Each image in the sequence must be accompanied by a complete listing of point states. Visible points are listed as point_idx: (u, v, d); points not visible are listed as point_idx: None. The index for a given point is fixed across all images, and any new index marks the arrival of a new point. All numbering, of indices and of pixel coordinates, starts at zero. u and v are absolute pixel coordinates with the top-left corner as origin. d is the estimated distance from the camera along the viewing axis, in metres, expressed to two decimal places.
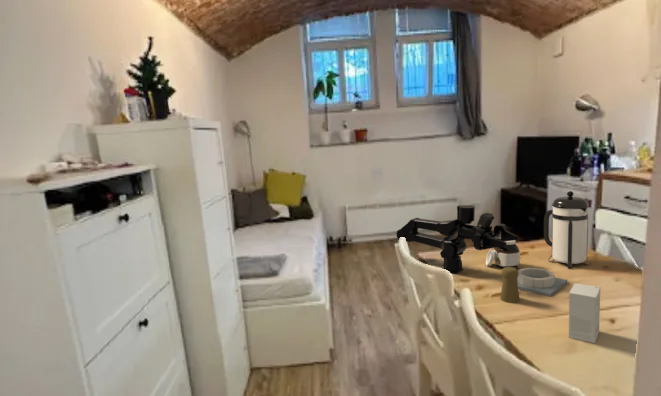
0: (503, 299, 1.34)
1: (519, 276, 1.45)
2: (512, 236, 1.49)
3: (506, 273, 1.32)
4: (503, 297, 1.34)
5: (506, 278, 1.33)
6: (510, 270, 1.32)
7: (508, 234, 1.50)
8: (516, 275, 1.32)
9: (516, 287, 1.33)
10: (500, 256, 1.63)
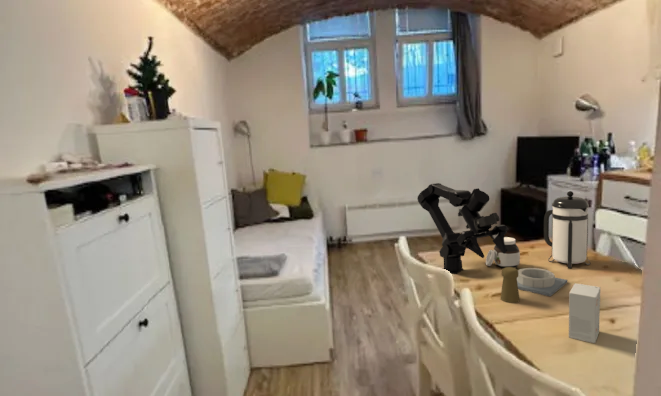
0: (503, 299, 1.34)
1: (519, 276, 1.45)
2: (501, 247, 1.43)
3: (506, 273, 1.32)
4: (503, 297, 1.34)
5: (506, 278, 1.33)
6: (510, 270, 1.32)
7: (500, 242, 1.43)
8: (516, 275, 1.32)
9: (516, 287, 1.33)
10: (500, 256, 1.63)
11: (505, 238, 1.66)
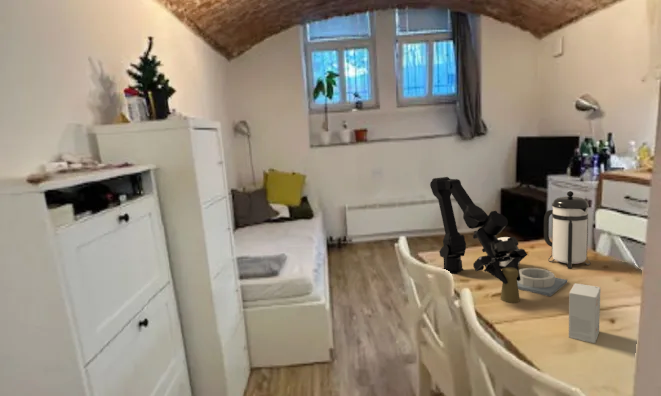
0: (503, 299, 1.34)
1: None
2: None
3: (506, 272, 1.32)
4: (503, 297, 1.34)
5: (506, 278, 1.33)
6: (510, 270, 1.32)
7: None
8: (516, 275, 1.32)
9: (516, 287, 1.33)
10: None
11: (505, 238, 1.66)
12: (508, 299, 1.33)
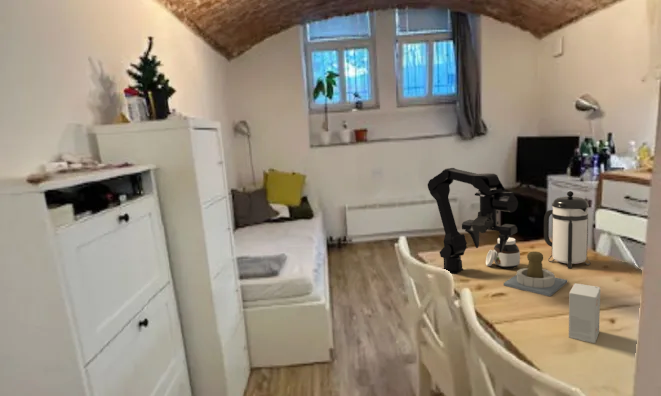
0: None
1: (519, 276, 1.45)
2: None
3: (536, 257, 1.42)
4: None
5: (535, 262, 1.43)
6: (538, 254, 1.43)
7: None
8: None
9: (542, 269, 1.44)
10: (500, 256, 1.63)
11: None
12: None
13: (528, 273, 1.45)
